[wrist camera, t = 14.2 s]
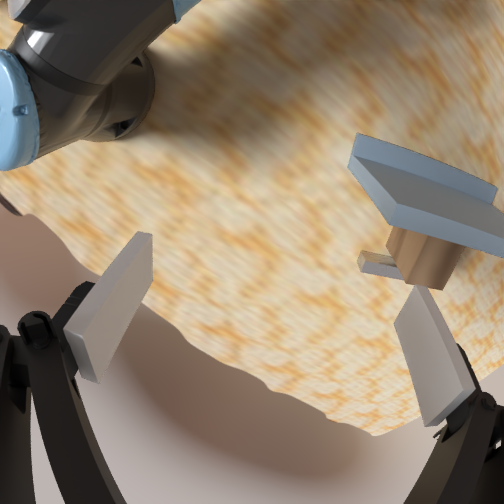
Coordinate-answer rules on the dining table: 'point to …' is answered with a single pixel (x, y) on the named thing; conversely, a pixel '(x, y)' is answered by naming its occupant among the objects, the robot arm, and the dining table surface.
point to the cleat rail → (378, 265)
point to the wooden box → (423, 257)
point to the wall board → (428, 195)
